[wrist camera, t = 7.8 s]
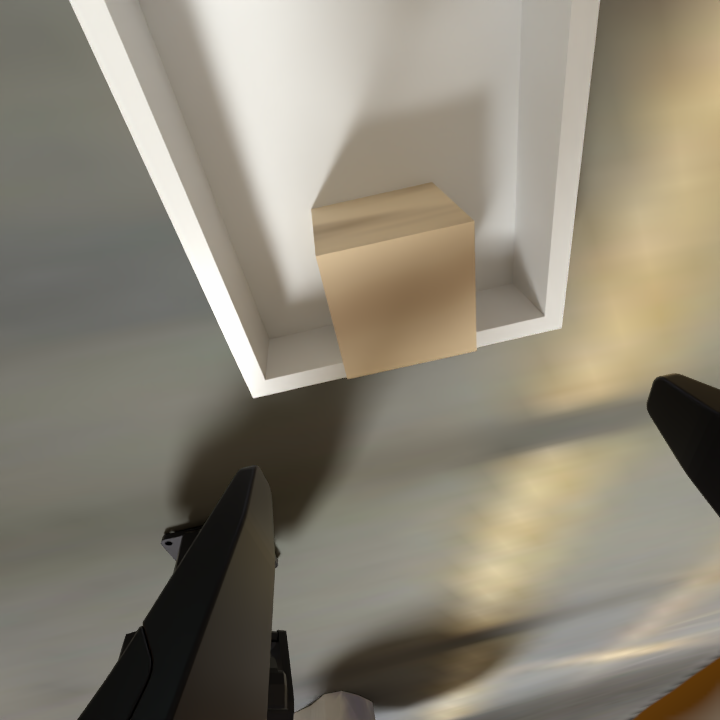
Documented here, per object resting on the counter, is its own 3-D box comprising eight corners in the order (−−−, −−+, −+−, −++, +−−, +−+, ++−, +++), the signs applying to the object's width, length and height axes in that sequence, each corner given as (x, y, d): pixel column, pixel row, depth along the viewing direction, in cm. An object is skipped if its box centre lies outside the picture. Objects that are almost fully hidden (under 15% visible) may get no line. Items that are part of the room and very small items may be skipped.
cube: (440, 291, 20) (476, 351, 16) (337, 314, 20) (347, 379, 16) (432, 182, 17) (474, 221, 13) (310, 208, 17) (315, 256, 13)
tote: (521, 287, 21) (561, 328, 18) (259, 347, 21) (253, 398, 18) (543, -198, 12) (634, -292, 9) (82, -86, 12) (5, -137, 9)
